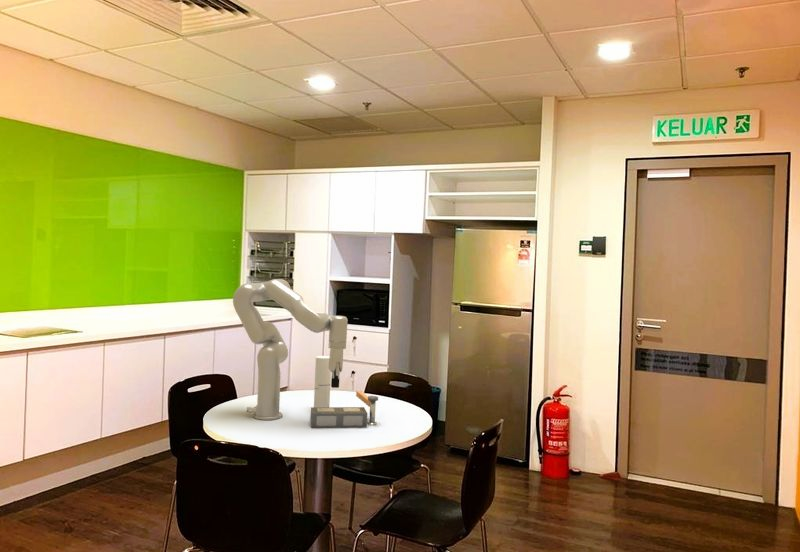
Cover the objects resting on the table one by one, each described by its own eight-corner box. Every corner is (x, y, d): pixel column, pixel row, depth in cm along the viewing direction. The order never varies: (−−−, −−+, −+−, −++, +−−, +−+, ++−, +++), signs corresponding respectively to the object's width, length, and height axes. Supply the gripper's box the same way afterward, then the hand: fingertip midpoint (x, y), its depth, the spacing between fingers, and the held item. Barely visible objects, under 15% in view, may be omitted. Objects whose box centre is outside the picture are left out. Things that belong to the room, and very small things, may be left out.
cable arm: (353, 396, 281) (354, 386, 281) (362, 395, 283) (363, 386, 283) (369, 409, 256) (369, 398, 256) (379, 408, 258) (379, 398, 258)
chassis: (311, 428, 249) (312, 413, 248) (310, 421, 260) (310, 406, 260) (366, 427, 253) (367, 412, 253) (363, 420, 264) (363, 406, 264)
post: (368, 425, 257) (368, 401, 257) (366, 422, 261) (367, 399, 261) (377, 425, 258) (378, 401, 258) (375, 422, 262) (376, 399, 262)
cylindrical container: (326, 413, 275) (328, 358, 274) (311, 412, 276) (313, 357, 276) (331, 410, 282) (333, 356, 281) (316, 408, 283) (318, 355, 283)
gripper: (326, 342, 265) (324, 383, 265) (330, 346, 251) (328, 390, 251) (343, 342, 267) (341, 383, 267) (348, 347, 252) (346, 391, 253)
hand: (335, 387), depth 259 cm, fingers closed
